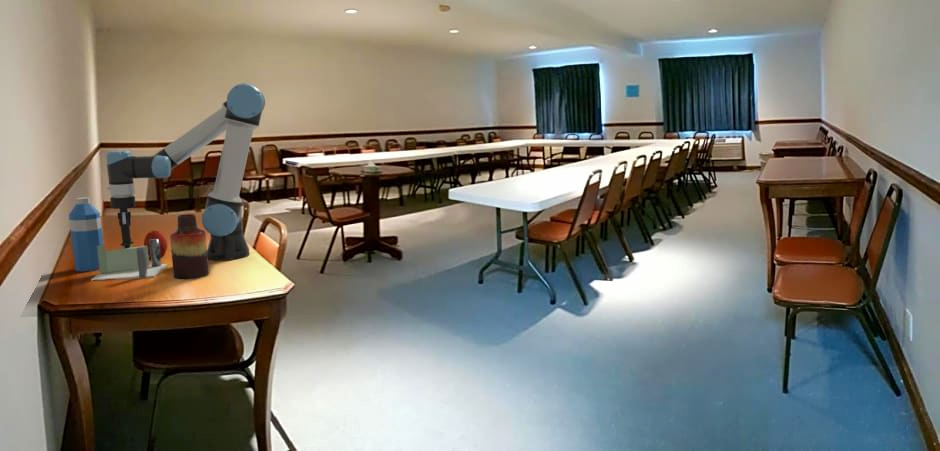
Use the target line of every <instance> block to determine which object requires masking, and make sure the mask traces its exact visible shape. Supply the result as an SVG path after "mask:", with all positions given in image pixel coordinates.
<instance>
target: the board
mask: <svg viewBox="0 0 940 451" xmlns="http://www.w3.org/2000/svg"><path fill="white" fill-rule="evenodd" d="M168 265H169V264H168V263H161V266H158V267H152V264H149V266H148V267H147V275H146V276H143V277H146V278H147V279H149V278H155V277H156V276H157V275H159V274H160V272H162V271H163V270H164V269H165V268H166V267H168ZM140 277H141V276H140ZM146 278H145V279H146ZM105 279H115V280H129V279H140V278H139V269H138V268H134V269H127V270H120V271H113V272H107V273H100V272H99V273H98V274H97V275H95V276H93V277H92V278H91V279H90V280H91V282H93V280H98V281H106V280H105Z"/></svg>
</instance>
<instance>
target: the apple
mask: <svg viewBox="0 0 940 451" xmlns="http://www.w3.org/2000/svg"><path fill="white" fill-rule="evenodd" d="M151 239H159V247H160V258H163V257H164V256H165V254H166V253H167V249H168V242H167V240H166V238H165V236H164V235H163V233H162V232H161V231H159V230H149V231H148V232H147V233H146V234H145V236H144V239H143V246H147V247H148V256H149V257H150V258H151V252H150V242H149V240H151Z"/></svg>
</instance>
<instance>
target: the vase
mask: <svg viewBox="0 0 940 451" xmlns="http://www.w3.org/2000/svg"><path fill="white" fill-rule="evenodd" d="M176 220H177V222H176V225H177V226H176V227H177V229H176V230H174V231H172V232H171V233H169V234H170V235H169V238H170V239H169V240H170V250H171V252H170V253H171V261H172V274H173V278H174V279H175V280H182V281H183V280H196V279H200V278H201V277H202V278H205V277H207V276H209V275H210V273H209V260H208V257H207V249H208V246H207V234H206V230H205V229H200V228H198V225H197V224H198V223H197V219H196V214H193V213H189V214H188V213H187V214H184V213H183V214H178V215H177V219H176ZM202 278H201V279H202Z"/></svg>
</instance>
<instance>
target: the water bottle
mask: <svg viewBox="0 0 940 451" xmlns="http://www.w3.org/2000/svg"><path fill="white" fill-rule="evenodd" d="M90 198H91V197H89V196H88V197H76V198H75V203H76V204H75V205H74V206H73V209H71V212H70V213H69V214H68V220H69V228H70V236H71V244H72V245H71V246H72V254H73V256H72V257H73V262H74V271H76V272H92V271H97V270H99V260H98V251H97V246H100V245H104V239H103V238H104V237H103V231H102V221H101V212H100V211H99V210H98V209H97V208H96V207H95V206H94V205H93V204H92V203H91V200H90Z"/></svg>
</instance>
